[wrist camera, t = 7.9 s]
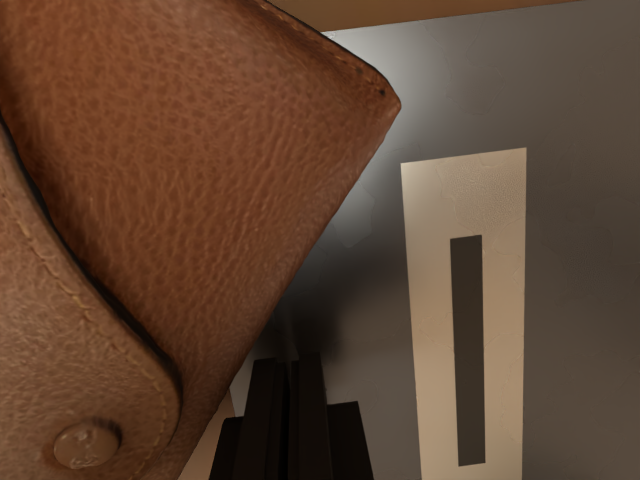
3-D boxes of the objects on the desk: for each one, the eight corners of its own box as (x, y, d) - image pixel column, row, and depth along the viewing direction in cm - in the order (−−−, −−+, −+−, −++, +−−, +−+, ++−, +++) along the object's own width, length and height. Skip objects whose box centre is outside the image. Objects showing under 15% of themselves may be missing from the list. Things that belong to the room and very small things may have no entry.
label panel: (1047, -55, 10) (1063, -59, 10) (869, 524, 15) (877, 530, 14) (162, 53, 9) (158, 51, 9) (277, 609, 14) (276, 617, 14)
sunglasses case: (121, 634, 13) (-219, 977, 7) (-1, 472, 16) (-330, 623, 10) (427, 75, 9) (247, -239, 3) (198, -25, 12) (-154, -308, 6)
